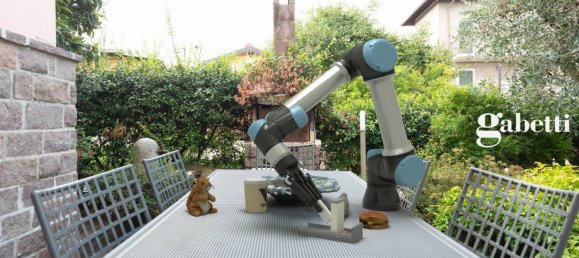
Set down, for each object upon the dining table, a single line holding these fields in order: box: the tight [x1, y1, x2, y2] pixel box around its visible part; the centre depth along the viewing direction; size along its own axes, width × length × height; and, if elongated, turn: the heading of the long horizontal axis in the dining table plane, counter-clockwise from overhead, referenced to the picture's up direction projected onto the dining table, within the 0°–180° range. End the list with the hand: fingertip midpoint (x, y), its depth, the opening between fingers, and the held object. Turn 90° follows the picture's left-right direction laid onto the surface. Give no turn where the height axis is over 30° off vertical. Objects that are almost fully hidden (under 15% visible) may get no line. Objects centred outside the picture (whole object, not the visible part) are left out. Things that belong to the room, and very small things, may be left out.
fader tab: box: [330, 197, 345, 233], centre depth 125 cm, size 2×5×10 cm, turn 149°
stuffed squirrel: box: [185, 177, 219, 217], centre depth 158 cm, size 10×14×13 cm
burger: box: [358, 210, 390, 230], centre depth 139 cm, size 10×9×5 cm
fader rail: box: [297, 222, 364, 244], centre depth 126 cm, size 18×7×4 cm, turn 59°
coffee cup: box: [243, 177, 269, 214], centre depth 160 cm, size 9×9×12 cm
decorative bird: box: [337, 192, 351, 217], centre depth 152 cm, size 5×16×8 cm, turn 165°
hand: (329, 219), depth 126 cm, fingers closed
